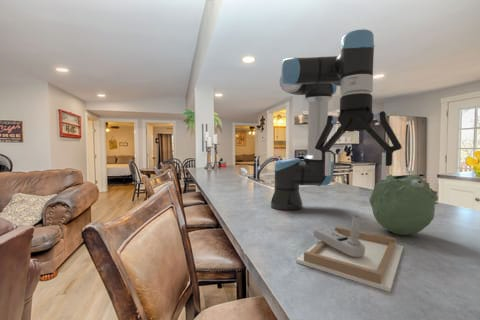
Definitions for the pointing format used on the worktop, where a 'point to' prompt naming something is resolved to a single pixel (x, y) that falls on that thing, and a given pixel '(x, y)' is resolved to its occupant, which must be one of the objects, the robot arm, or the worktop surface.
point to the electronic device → (343, 239)
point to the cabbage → (403, 204)
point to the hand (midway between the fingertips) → (354, 177)
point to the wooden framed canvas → (358, 260)
